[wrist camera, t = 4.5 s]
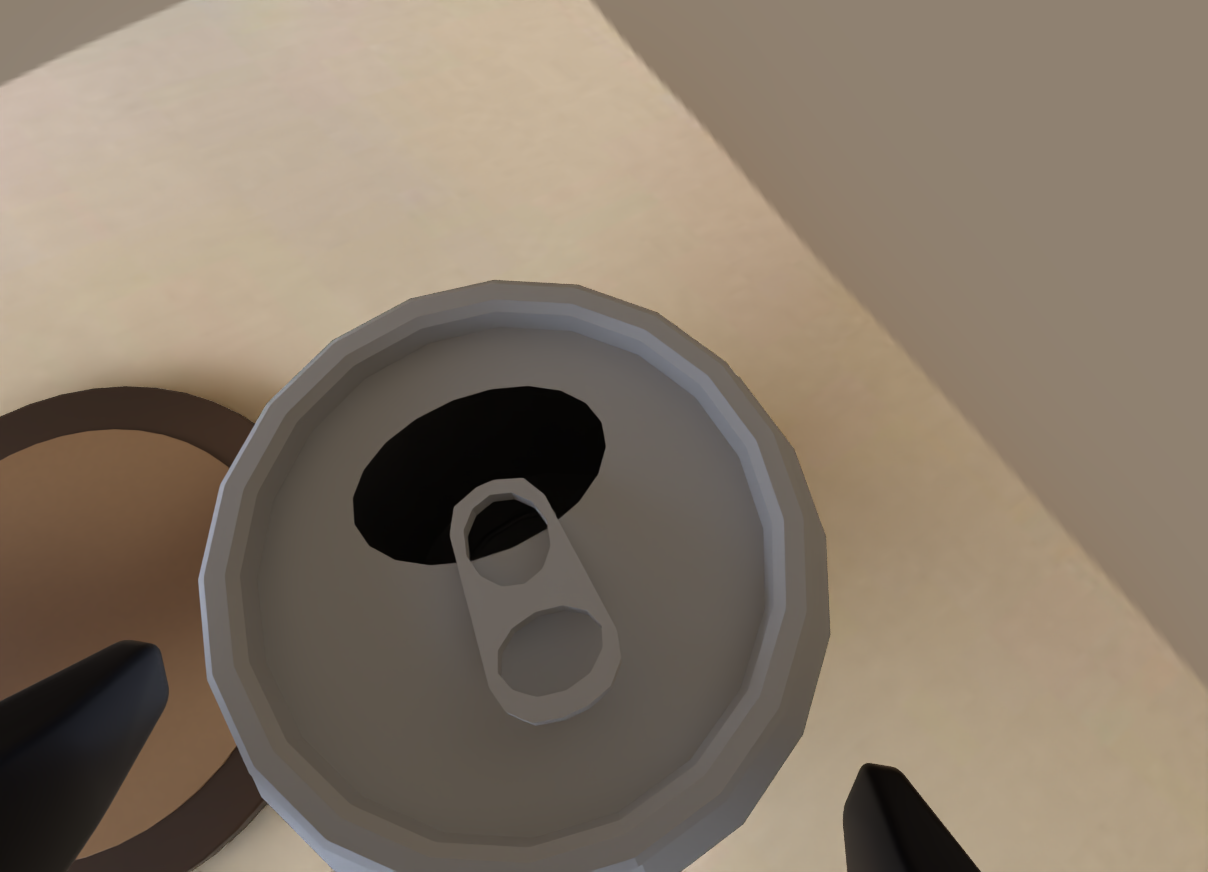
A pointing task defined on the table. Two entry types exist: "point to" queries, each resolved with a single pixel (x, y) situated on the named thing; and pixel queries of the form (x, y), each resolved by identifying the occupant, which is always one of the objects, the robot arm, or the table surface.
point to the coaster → (126, 596)
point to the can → (514, 590)
